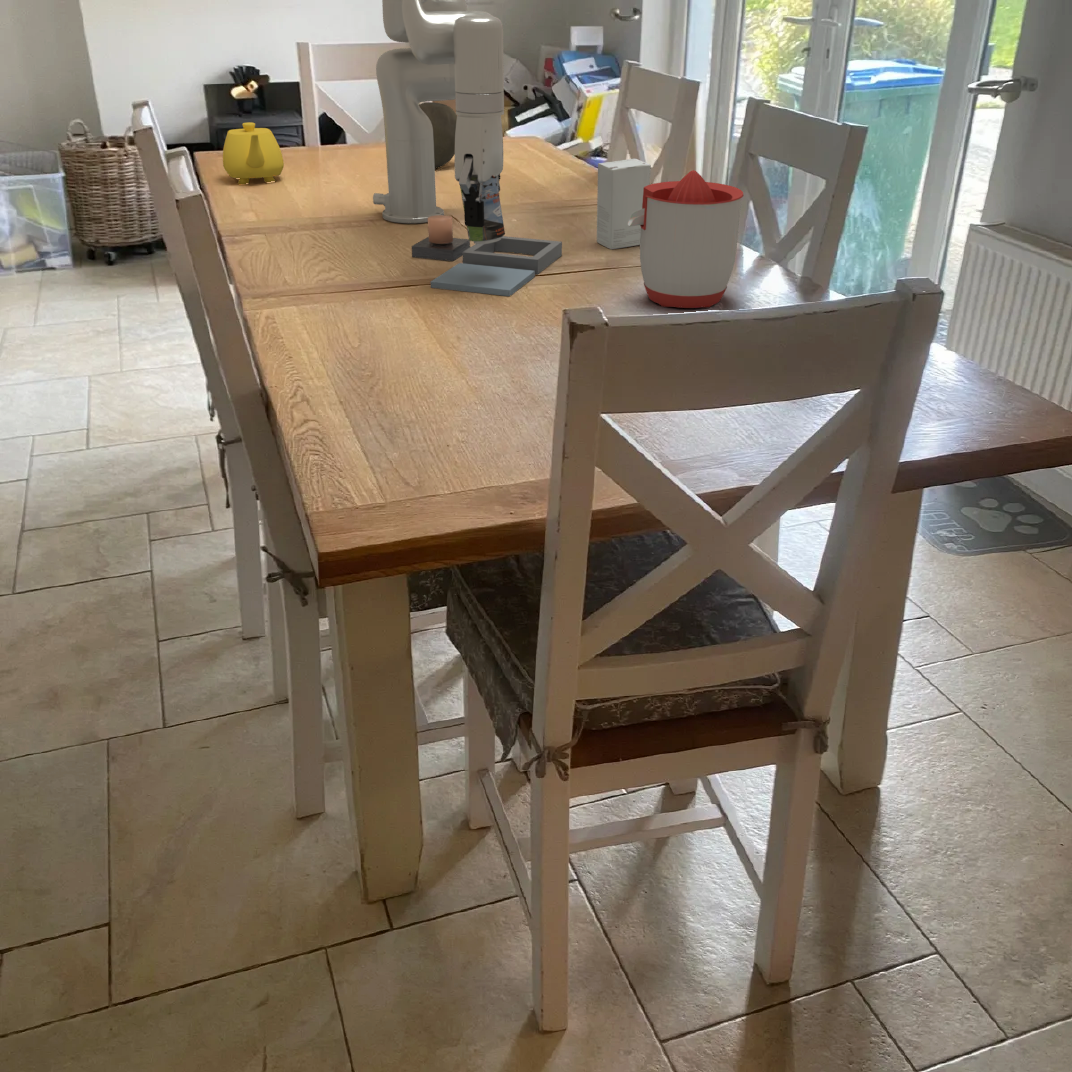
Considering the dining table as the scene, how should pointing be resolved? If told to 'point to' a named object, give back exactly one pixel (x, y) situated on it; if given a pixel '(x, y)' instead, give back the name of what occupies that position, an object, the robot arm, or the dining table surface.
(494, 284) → the mat
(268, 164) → the teapot
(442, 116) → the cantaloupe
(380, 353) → the dining table surface
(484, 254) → the frame
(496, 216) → the beverage can
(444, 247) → the button base
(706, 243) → the citrus juicer
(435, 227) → the button
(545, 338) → the dining table surface
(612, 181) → the skincare box
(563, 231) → the dining table surface
